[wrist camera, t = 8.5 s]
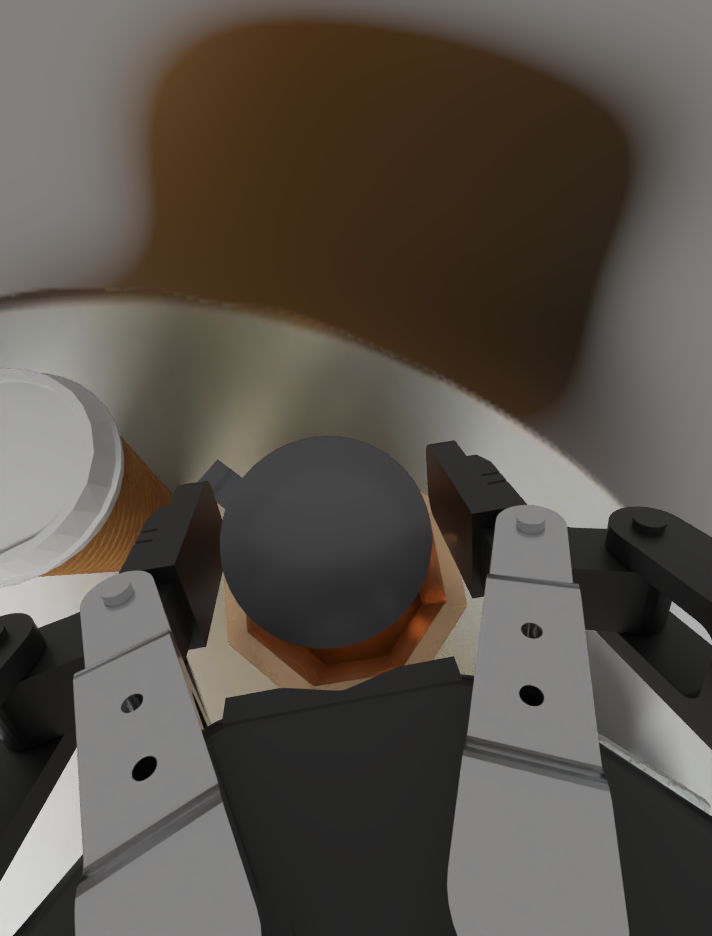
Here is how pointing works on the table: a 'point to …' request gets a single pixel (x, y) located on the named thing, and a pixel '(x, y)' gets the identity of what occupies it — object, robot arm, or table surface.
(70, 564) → the disposable coffee cup
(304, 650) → the wooden pitcher
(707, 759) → the table surface
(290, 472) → the plunger
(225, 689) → the table surface
